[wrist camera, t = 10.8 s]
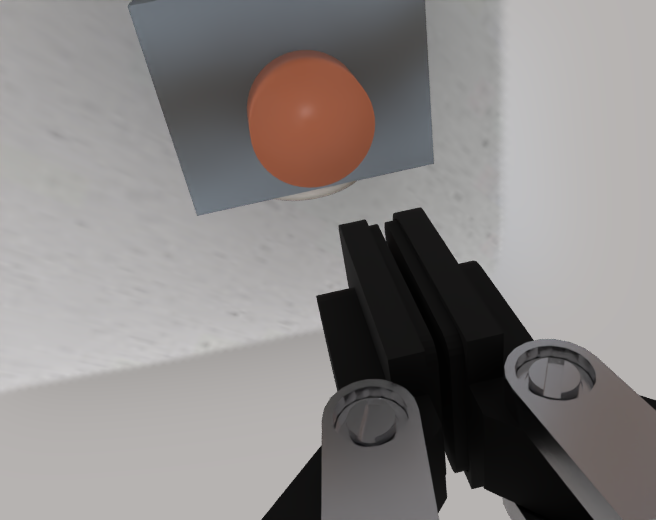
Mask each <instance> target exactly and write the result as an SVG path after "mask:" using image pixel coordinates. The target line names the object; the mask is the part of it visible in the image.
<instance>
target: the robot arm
mask: <svg viewBox="0 0 656 520" xmlns="http://www.w3.org/2000/svg"><path fill="white" fill-rule="evenodd" d="M339 234H340V240H341V245H342V251H343V257H344V263H345V268H346V274H347V280H348V286H349V289H344V290H340V291H335V292H331V293H327V294H322V295H318V296H316V297H317V302H318V307H319V311H320V316H321V321H322V325H323V330H324V334H325V338H326V343H327V348H328V352H329V357H330V361H331V365H332V370H333V374H334V378H335V382H336V387H337V393H336V394H334V395H333V396H332V397H331V398H330V400H329V401H328V403H327V405H326V406H325V408H324V412H323V417H322V446H321V447H320V448H319V449H318V450H317V452H316V453H315V454H314V455H313V457H312V458H311V459H310V460H309V461H308V463H307V464H306V465H305V466H304V468H303V469H302V470H301V471H300V473H299V474H298V475H297V477H296V478H295V479H294V480H293V481H292V482H291V484H290V485H289V486H288V488H287V489H286V490H285V491H284V493H283V494H282V495H281V496H280V497H279V499H278V500H277V501H276V502H275V504H274V505H273V506H272V507H271V509H270V510H269V511H268V512H267V514H266V515H265V516H264V517H263V518H262V520H439V516H438V513H439V511H440V509H441V507H442V506H443V504H444V502H445V500H446V499H447V491H446V477H445V475H446V463H445V453H446V455H447V458H448V460H449V463H450V465H451V467H452V469H453V471H454V472H455V473H458V472H462V471H464V472H465V475H466V477H467V479H468V482H469V484H470V486H471V489H474V488H479V487H484V489H486V490H488V491H490V492H492V493H495V494H497V495H499V496H501V497H503V504H504V506H505V508H506V511H507V513H508V515H509V516H510V518H511V519H512V520H656V400H653V399H650V398H647V397H643V396H640V395H638V394H637V393H636V392H635V391H633V389H631V388H630V387H629V386H628V385H627V384H626V383H625V382H624V381H623V380H622V379H621V378H619V377H618V376H617V375H616V374H615V373H614V372H613V371H612V370H611V369H610V368H608V367H607V366H606V365H605V364H604V363H603V362H602V361H601V360H600V359H599V358H597V357H596V356H595V355H593V354H592V353H591V352H589V351H588V350H586V349H585V348H583V347H580V346H578V345H576V344H573V343H571V342H566V341H561V340H556V339H540V340H535V341H534V340H533V339H532V337H531V336H530V334H529V333H528V332H527V330H526V329H525V327H524V326H523V325H522V323H521V322H520V320H519V319H518V318H517V316H516V315H515V313H514V312H513V311H512V309H511V308H510V306H509V305H508V304H507V302H506V301H505V299H504V298H503V297H502V295H501V294H500V292H499V291H498V290H497V288H496V287H495V285H494V284H493V283H492V281H491V280H490V278H489V277H488V276H487V274H486V273H485V271H484V270H483V269H482V267H481V266H480V265H479V264H478V263H477V262H476V261H469V262H465V263H460V264H458V262H457V261H456V259H455V258H454V256H453V255H452V253H451V252H450V250H449V249H448V247H447V246H446V244H445V243H444V241H443V240H442V238H441V236H440V235H439V233H438V232H437V230H436V229H435V227H434V226H433V224H432V223H431V221H430V220H429V218H428V217H427V215H426V214H425V212H424V211H423V209H422V208H415V209H411V210H406V211H401V212H397V213H394V214H393V221H389V222H385V235H386V241H385V239H384V237H383V234H382V232H381V230H380V228H379V226H378V225H377V224H375V225H371V226H368V223H367V221H366V220H360V221H356V222H351V223H347V224H342V225H339Z"/></svg>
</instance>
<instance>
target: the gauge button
mask: <svg viewBox="0 0 656 520" xmlns="http://www.w3.org/2000/svg"><path fill="white" fill-rule="evenodd" d="M247 117H248V124H249V131H250V137H251V143H252V146H253V149H254V152H255V154H256V156H257V158H258V160H259V161H260V163H261V164H262V165H263V166H264V168H265V169H266V170H267V171H268V172H269V173H271V174H272V175H273V176H274V177H276V178H277V179H279V180H281V181H283V182H285V183H288V184H290V185H294V186H298V187H307V188H311V187H321V186H326V185H329V184H332V183H335V182H337V181H339V180H341V179H343V178H344V177H346V176H347V175H349V174H350V173H351V172H353V171H354V170H355V169H356V168H357V167H358V166H359V165H360V163H361V162H362V161H363V159H364V158H365V156H366V155H367V153H368V151H369V149H370V147H371V144H372V141H373V137H374V132H375V116H374V110H373V107H372V104H371V101H370V99H369V97H368V95H367V93H366V92H365V90H364V89H363V87H362V86H361V85H360V83H359V82H358V81H357V79H356V78H355V77H354V76H353V74H352V73H351V72H350V71H349V69H348V68H347V67H346V66H345V65H344V64H343V63H341V62H340V61H339V60H337V59H336V58H334V57H333V56H330V55H328V54H326V53H323V52H319V51H314V50H298V51H293V52H289V53H286V54H283V55H281V56H279V57H277V58H276V59H274V60H272V61H271V62H270V63H269V64H267V65H266V66H265V67H264V68H263V69H262V70H261V71H260V73H259V74H258V75H257V77H256V78H255V80H254V82H253V84H252V86H251V89H250V92H249V96H248V100H247Z"/></svg>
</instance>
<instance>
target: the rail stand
mask: <svg viewBox="0 0 656 520" xmlns="http://www.w3.org/2000/svg"><path fill="white" fill-rule="evenodd" d="M128 9H129V12H130V15H131V18H132V21H133V24H134V27H135V30H136V33H137V36H138V39H139V42H140V45H141V48H142V51H143V54H144V57H145V60H146V63H147V66H148V69H149V72H150V75H151V78H152V81H153V84H154V87H155V90H156V93H157V96H158V99H159V102H160V105H161V108H162V111H163V114H164V117H165V120H166V123H167V126H168V129H169V132H170V135H171V138H172V141H173V144H174V147H175V150H176V153H177V156H178V159H179V162H180V165H181V168H182V171H183V174H184V177H185V180H186V183H187V186H188V189H189V192H190V195H191V198H192V201H193V204H194V207H195V210H196V213H197V216H198V215H203V214H208V213H212V212H217V211H221V210H226V209H230V208H235V207H239V206H244V205H248V204H253V203H257V202H262V201H266V200H271V199H277V200H285V201H300V200H309V199H315V198H320V197H324V196H327V195H331V194H334V193H336V192H339V191H341V190H343V189H345V188H347V187H349V186H350V185H352V184H353V183H355V182H356V181H357V180H361V179H366V178H371V177H375V176H380V175H384V174H389V173H393V172H398V171H402V170H407V169H411V168H416V167H420V166H425V165H429V164H434V158H433V140H432V122H431V104H430V86H429V68H428V50H427V32H426V14H425V0H132V2H131V3H130V4H129V5H128ZM298 50H314V51H319V52H323V53H326V54H328V55H330V56H333V57H334V58H336V59H337V60H339V61H340V62H341V63H343V64H344V65H345V66H346V67H347V68H348V69H349V71H350V72H351V73H352V74H353V76H354V77H355V78H356V79H357V81H358V82H359V83H360V85H361V86H362V87H363V89H364V90H365V92H366V93H367V95H368V97H369V99H370V101H371V104H372V107H373V110H374V116H375V132H374V137H373V141H372V144H371V147H370V149H369V151H368V153H367V155H366V156H365V158H364V159H363V161H362V162H361V163H360V165H359V166H358V167H357V168H356V169H355V170H354V171H353V172H351V173H350V174H349V175H347V176H346V177H344V178H343V179H341V180H339V181H337V182H335V183H332V184H329V185H326V186H321V187H311V188H307V187H298V186H294V185H290V184H288V183H285V182H283V181H281V180H279V179H277V178H276V177H274V176H273V175H272V174H271V173H269V172H268V171H267V170H266V169H265V168H264V166H263V165H262V164H261V163H260V161H259V160H258V158H257V156H256V154H255V152H254V149H253V146H252V143H251V137H250V131H249V124H248V117H247V100H248V96H249V92H250V89H251V86H252V84H253V82H254V80H255V78H256V77H257V75H258V74H259V73H260V71H261V70H262V69H263V68H264V67H265V66H266V65H267V64H269V63H270V62H271V61H272V60H274V59H276V58H277V57H279V56H281V55H283V54H286V53H289V52H293V51H298Z"/></svg>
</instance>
